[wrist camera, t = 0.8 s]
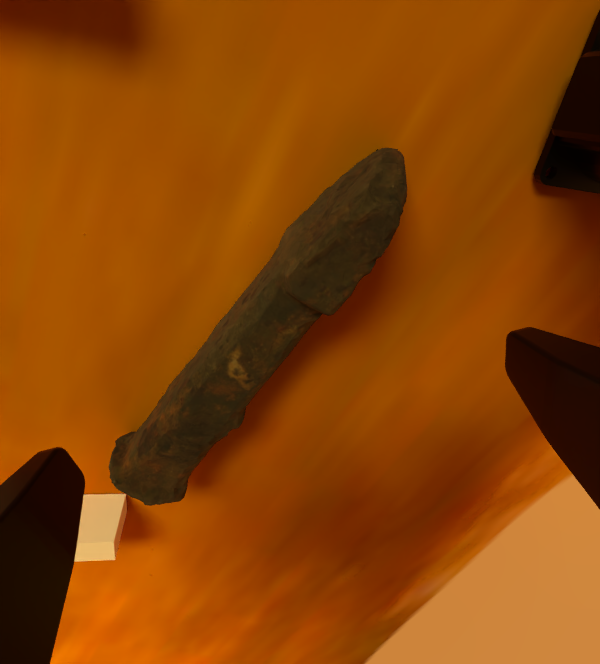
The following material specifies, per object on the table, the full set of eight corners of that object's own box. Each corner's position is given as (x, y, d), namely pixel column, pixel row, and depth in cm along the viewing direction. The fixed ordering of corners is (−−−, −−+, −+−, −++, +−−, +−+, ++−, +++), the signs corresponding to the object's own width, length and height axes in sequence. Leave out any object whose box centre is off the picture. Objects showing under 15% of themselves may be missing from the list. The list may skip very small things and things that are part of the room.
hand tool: (182, 459, 24) (174, 533, 20) (116, 431, 22) (93, 505, 18) (423, 189, 18) (478, 217, 14) (359, 125, 17) (402, 136, 13)
